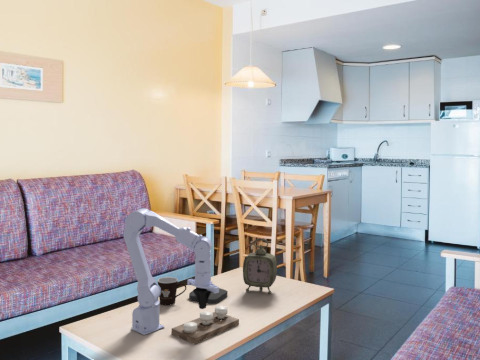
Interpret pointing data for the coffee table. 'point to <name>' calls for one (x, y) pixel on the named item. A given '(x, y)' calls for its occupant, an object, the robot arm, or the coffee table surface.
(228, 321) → the brown wooden board
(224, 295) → the media streaming box
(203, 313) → the knob middle
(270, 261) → the tabletop clock
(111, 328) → the coffee table surface
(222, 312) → the knob far
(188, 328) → the knob near
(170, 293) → the coffee mug
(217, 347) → the coffee table surface
